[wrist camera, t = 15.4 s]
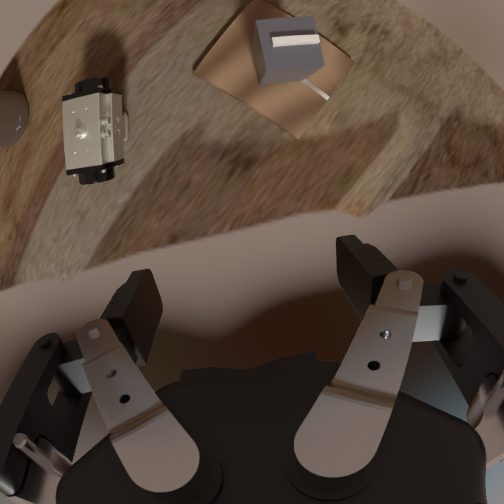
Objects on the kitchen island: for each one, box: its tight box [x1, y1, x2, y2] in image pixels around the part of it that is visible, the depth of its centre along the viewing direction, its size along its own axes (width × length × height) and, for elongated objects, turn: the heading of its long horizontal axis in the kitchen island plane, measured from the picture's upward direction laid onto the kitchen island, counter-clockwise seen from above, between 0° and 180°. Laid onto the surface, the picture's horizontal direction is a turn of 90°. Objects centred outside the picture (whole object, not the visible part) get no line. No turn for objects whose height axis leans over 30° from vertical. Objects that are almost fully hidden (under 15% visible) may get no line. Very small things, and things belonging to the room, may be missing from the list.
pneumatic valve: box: [63, 78, 129, 185], centre depth 29 cm, size 6×12×12 cm, turn 0°
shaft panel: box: [193, 0, 355, 139], centre depth 29 cm, size 16×14×6 cm
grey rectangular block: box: [251, 16, 325, 86], centre depth 26 cm, size 6×6×11 cm
